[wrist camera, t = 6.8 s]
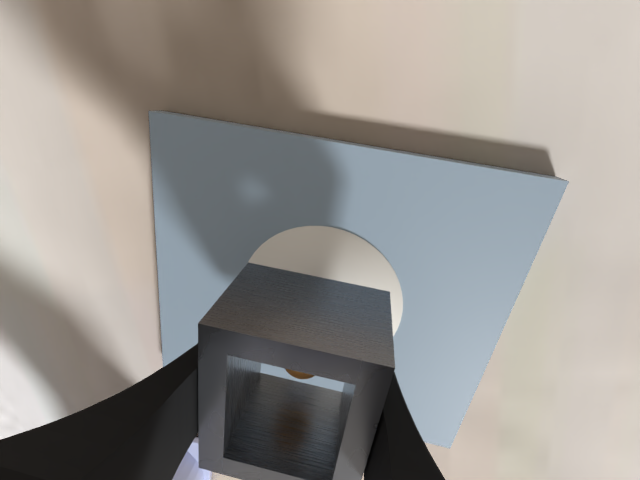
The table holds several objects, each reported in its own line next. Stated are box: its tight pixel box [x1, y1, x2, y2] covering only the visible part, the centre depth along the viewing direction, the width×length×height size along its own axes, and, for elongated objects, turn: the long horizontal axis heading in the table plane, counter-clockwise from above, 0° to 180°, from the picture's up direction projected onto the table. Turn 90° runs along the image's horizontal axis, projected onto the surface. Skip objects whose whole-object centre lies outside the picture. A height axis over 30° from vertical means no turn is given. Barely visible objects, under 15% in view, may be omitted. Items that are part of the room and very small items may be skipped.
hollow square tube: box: [198, 262, 395, 480], centre depth 12 cm, size 6×6×4 cm
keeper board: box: [149, 111, 569, 448], centre depth 15 cm, size 16×18×6 cm
